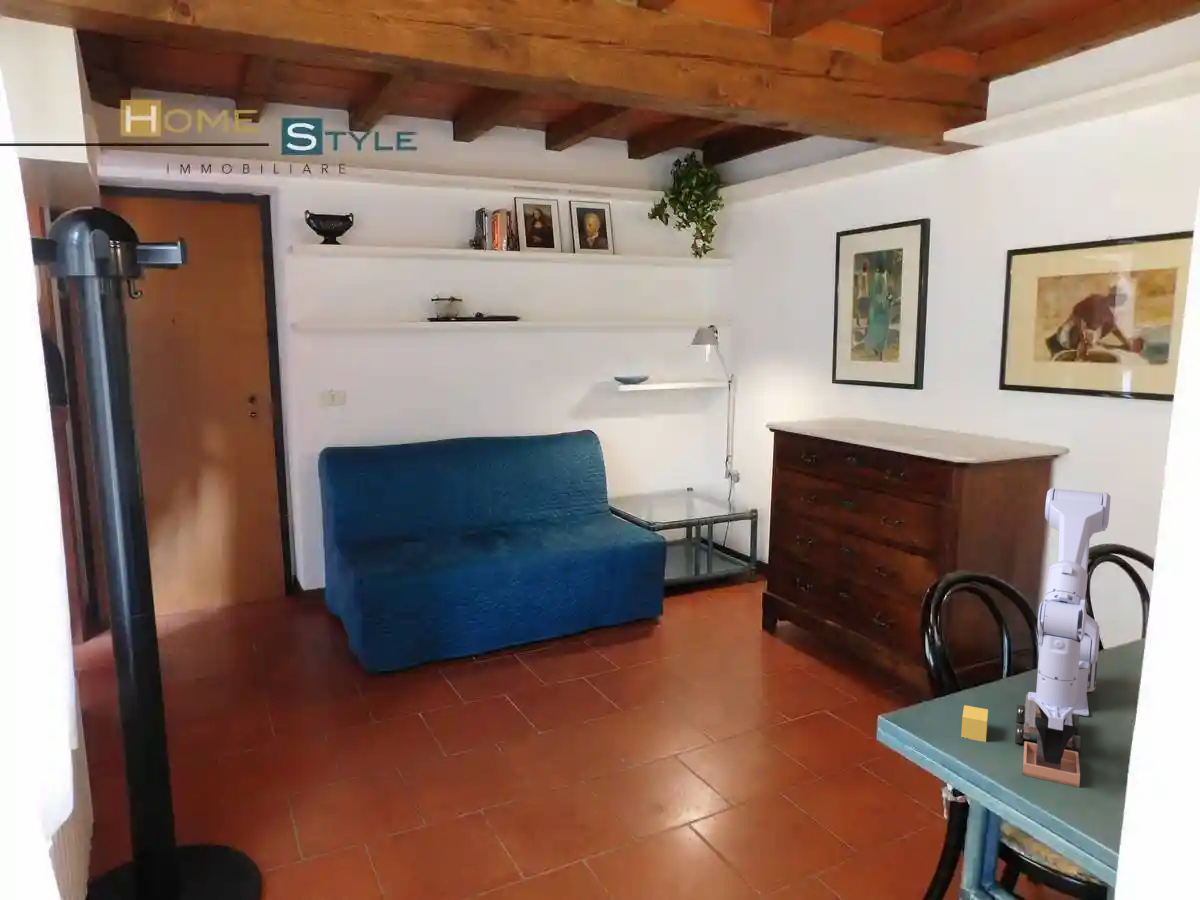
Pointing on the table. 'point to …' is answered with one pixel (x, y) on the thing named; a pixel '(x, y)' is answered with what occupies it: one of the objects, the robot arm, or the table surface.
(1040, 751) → the grey matte cube
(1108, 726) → the table surface
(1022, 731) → the trolley
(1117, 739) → the table surface
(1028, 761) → the tray
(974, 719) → the chock
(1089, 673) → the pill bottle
